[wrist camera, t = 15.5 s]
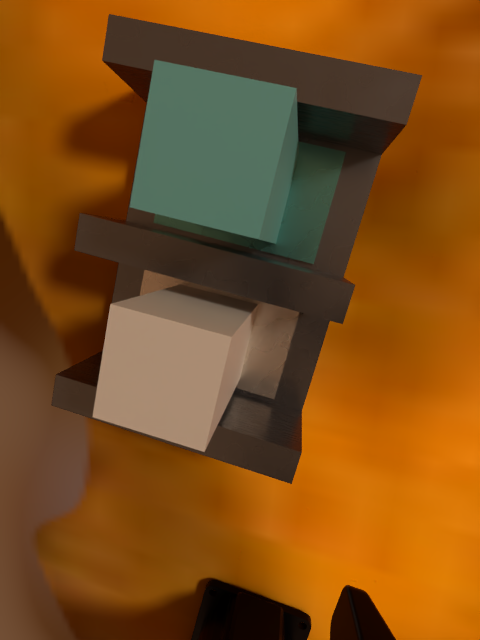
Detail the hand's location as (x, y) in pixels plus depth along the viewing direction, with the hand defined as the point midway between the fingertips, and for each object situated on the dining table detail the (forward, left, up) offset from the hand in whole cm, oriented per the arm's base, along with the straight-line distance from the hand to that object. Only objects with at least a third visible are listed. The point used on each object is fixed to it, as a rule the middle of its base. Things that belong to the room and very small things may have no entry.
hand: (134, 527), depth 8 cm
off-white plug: (+1, +1, -11) cm, 11 cm away
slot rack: (+5, +1, -12) cm, 14 cm away
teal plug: (+8, +1, -11) cm, 14 cm away
